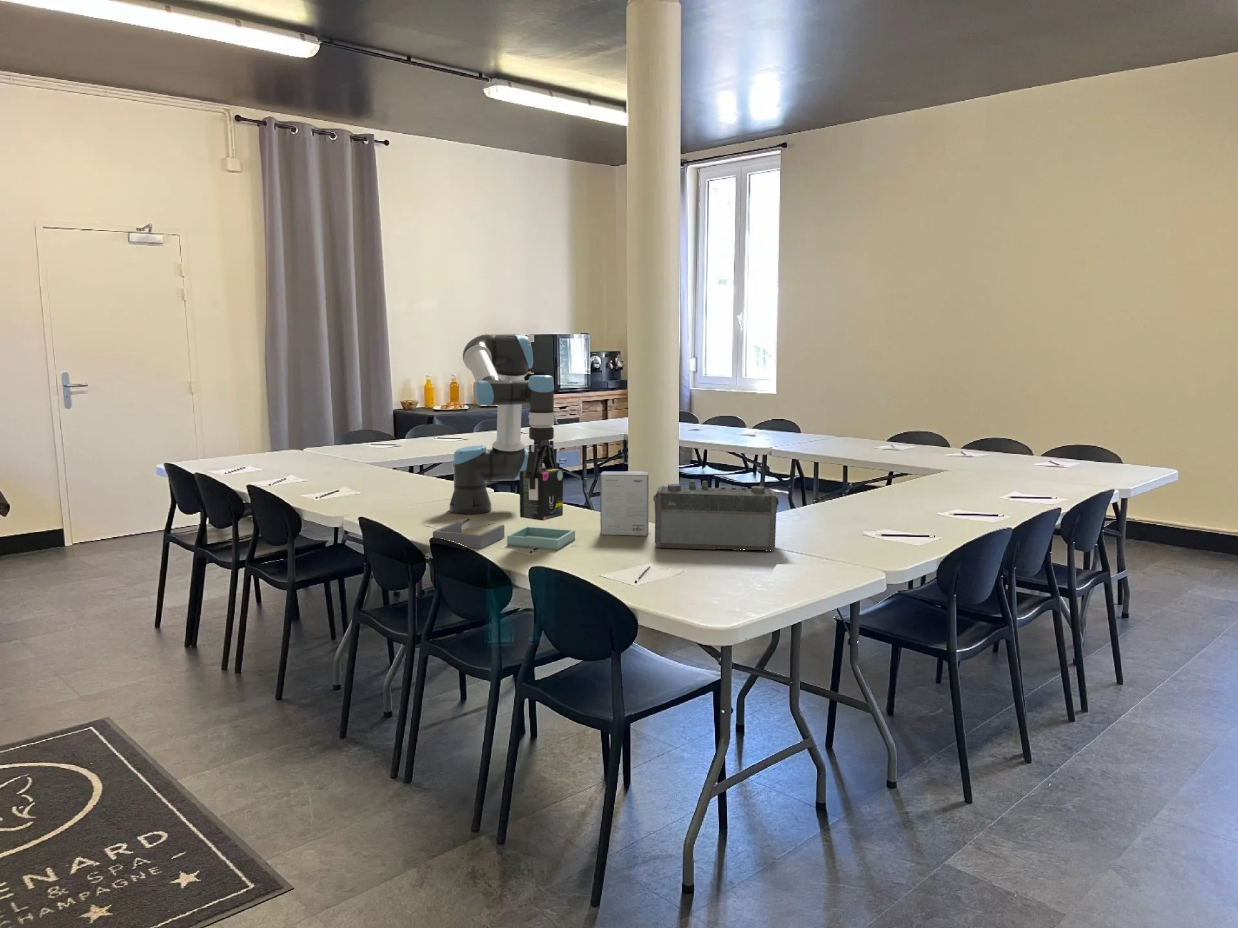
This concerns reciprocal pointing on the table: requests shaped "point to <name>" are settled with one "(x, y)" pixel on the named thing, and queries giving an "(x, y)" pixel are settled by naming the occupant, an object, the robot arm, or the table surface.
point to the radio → (715, 517)
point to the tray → (541, 538)
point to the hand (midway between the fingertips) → (541, 496)
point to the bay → (469, 535)
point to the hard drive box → (624, 503)
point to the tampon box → (542, 495)
